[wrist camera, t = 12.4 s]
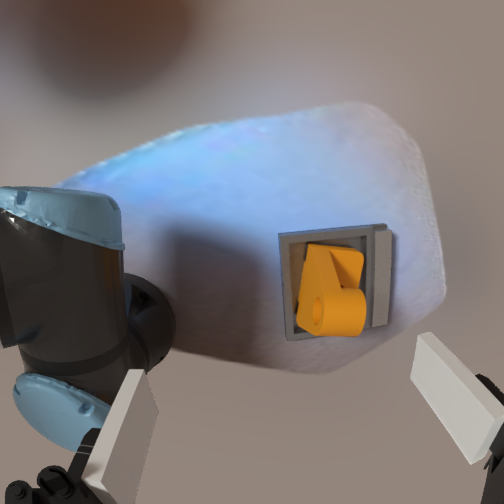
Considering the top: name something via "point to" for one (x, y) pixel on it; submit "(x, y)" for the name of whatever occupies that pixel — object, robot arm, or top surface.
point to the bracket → (331, 292)
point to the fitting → (372, 276)
